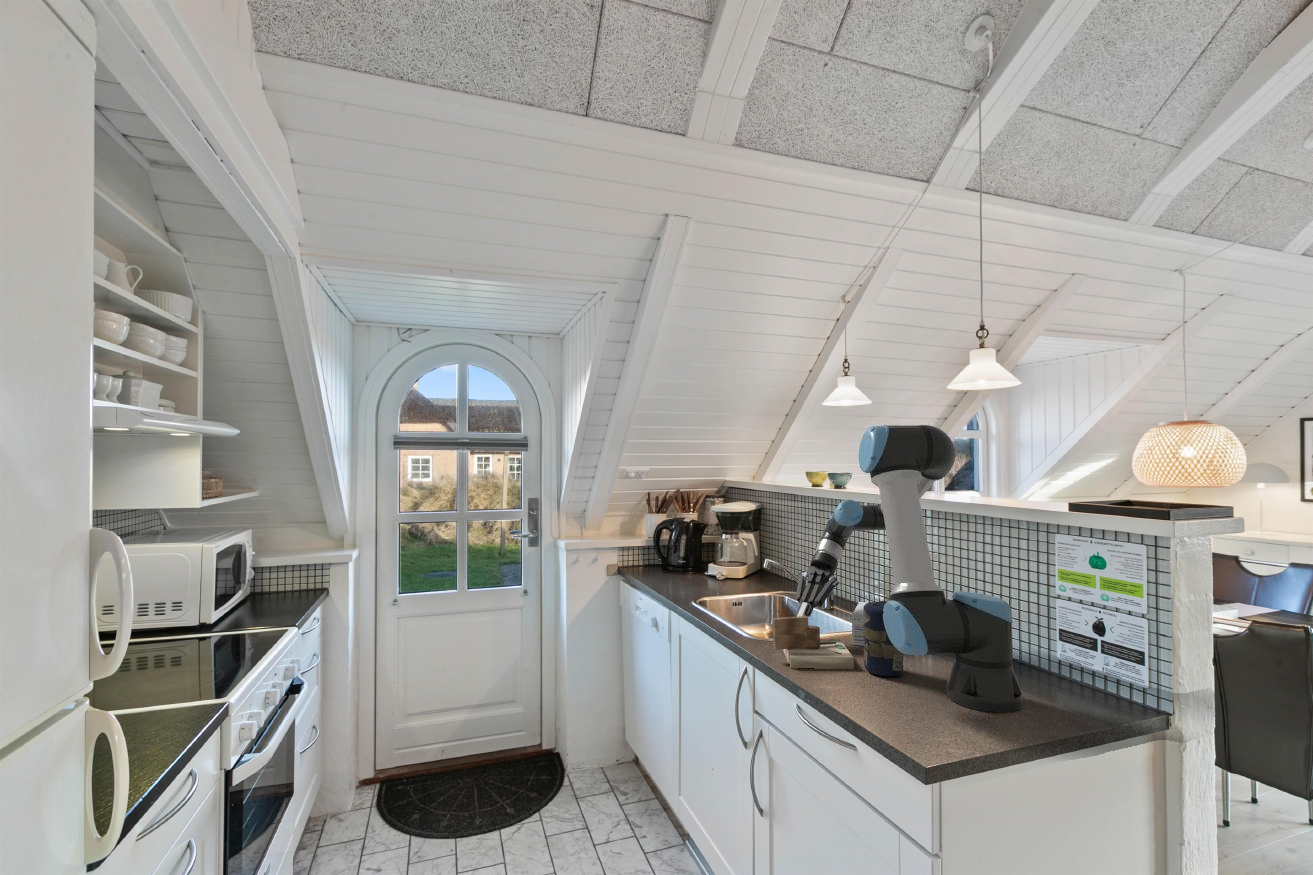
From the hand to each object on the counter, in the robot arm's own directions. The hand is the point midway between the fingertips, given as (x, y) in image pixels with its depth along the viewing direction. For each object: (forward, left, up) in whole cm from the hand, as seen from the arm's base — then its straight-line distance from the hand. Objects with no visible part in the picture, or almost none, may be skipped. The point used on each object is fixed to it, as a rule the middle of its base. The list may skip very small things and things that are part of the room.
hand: (799, 624), depth 176 cm
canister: (-18, -18, -7) cm, 27 cm away
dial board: (-8, -3, -7) cm, 11 cm away
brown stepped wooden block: (-9, 0, -4) cm, 10 cm away
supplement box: (+10, -25, -7) cm, 28 cm away
